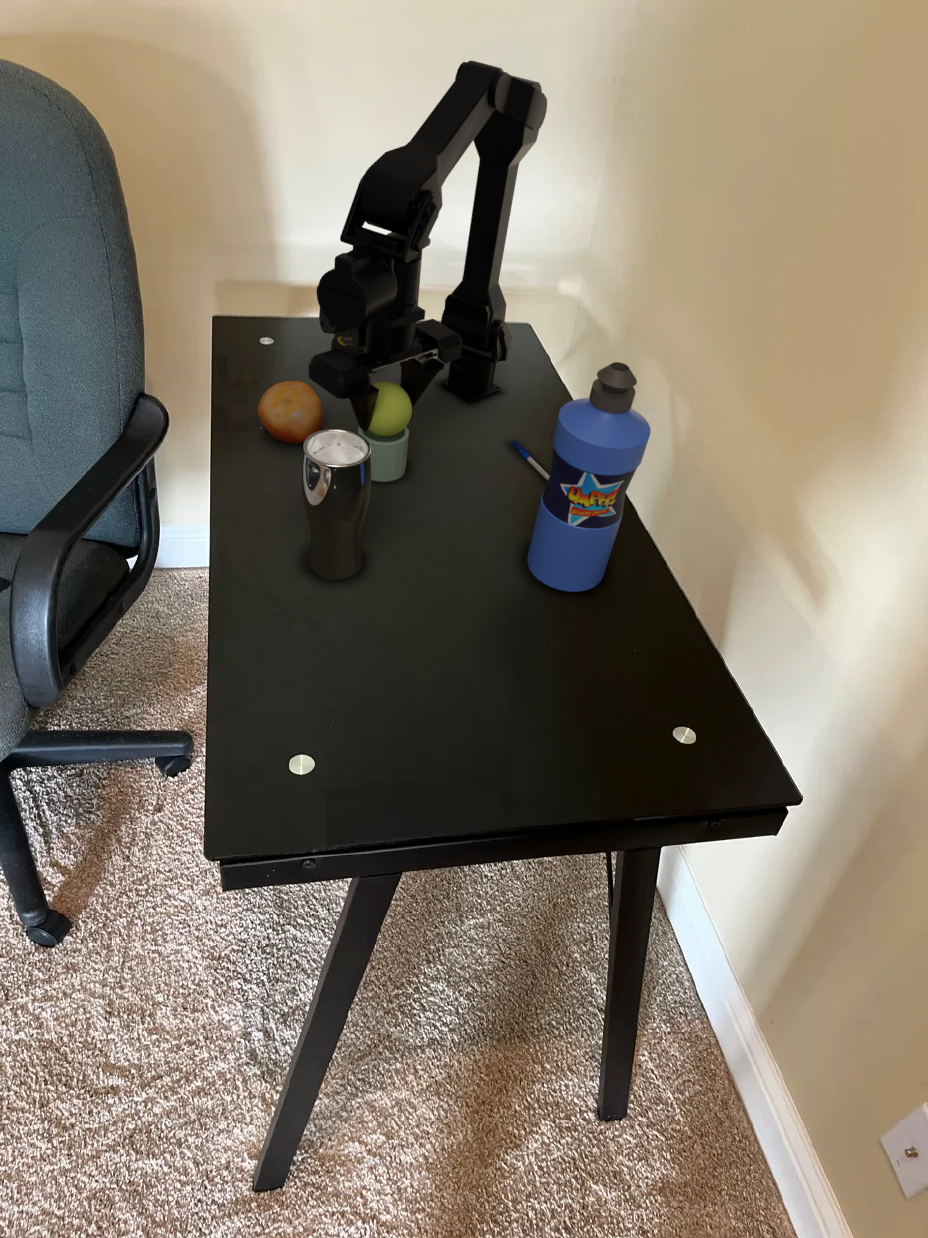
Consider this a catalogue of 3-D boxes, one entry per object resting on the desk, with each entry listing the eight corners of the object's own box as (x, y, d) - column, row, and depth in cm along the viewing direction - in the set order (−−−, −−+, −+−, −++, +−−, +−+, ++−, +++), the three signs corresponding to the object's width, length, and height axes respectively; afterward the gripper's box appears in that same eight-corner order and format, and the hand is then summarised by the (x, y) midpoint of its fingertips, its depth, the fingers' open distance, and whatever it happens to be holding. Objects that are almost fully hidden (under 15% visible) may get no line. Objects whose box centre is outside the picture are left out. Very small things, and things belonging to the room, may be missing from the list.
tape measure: (336, 376, 120) (336, 352, 117) (326, 353, 124) (326, 329, 122) (382, 373, 122) (383, 350, 119) (370, 351, 126) (371, 327, 124)
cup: (384, 448, 108) (386, 411, 104) (415, 471, 105) (419, 433, 102) (346, 463, 105) (347, 426, 101) (378, 487, 102) (380, 449, 98)
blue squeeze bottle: (525, 534, 99) (569, 337, 81) (602, 544, 99) (662, 350, 82) (525, 586, 92) (573, 384, 75) (607, 597, 93) (674, 398, 75)
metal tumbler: (315, 589, 88) (315, 472, 77) (294, 549, 92) (291, 433, 81) (376, 575, 90) (384, 460, 80) (353, 537, 95) (357, 422, 84)
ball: (386, 412, 105) (389, 366, 100) (420, 436, 102) (425, 389, 97) (346, 427, 101) (348, 380, 97) (380, 452, 98) (383, 404, 94)
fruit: (333, 408, 111) (326, 376, 103) (321, 461, 109) (312, 433, 101) (274, 398, 111) (262, 365, 103) (260, 451, 109) (247, 422, 101)
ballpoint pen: (509, 445, 113) (510, 439, 112) (514, 444, 113) (515, 438, 112) (553, 488, 107) (555, 482, 106) (559, 487, 107) (560, 480, 106)
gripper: (407, 253, 98) (398, 372, 109) (276, 285, 88) (281, 413, 99) (472, 288, 93) (456, 410, 104) (341, 327, 83) (339, 458, 94)
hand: (384, 421), depth 100 cm, fingers closed on ball, 6 cm apart
